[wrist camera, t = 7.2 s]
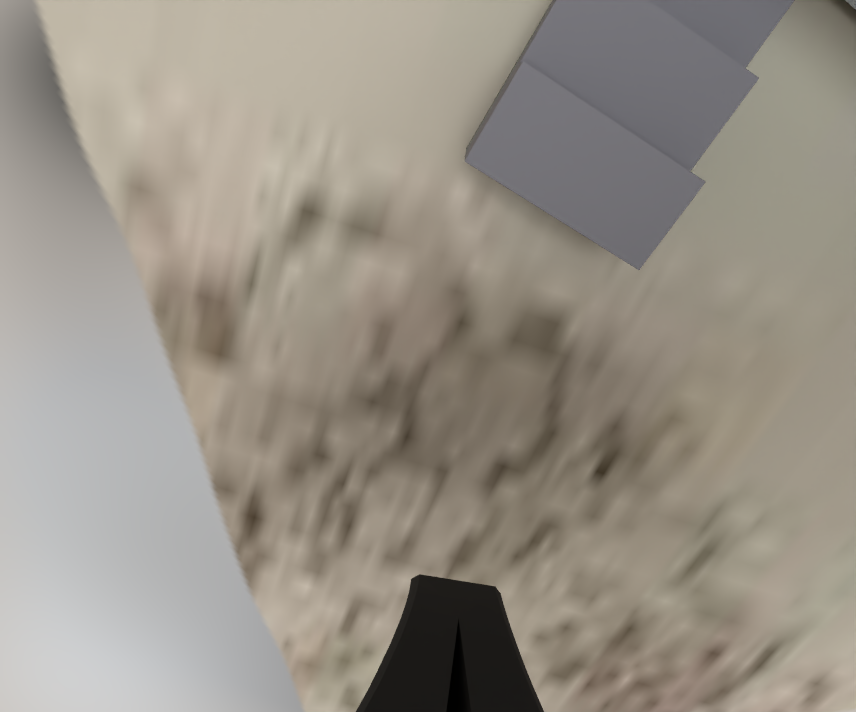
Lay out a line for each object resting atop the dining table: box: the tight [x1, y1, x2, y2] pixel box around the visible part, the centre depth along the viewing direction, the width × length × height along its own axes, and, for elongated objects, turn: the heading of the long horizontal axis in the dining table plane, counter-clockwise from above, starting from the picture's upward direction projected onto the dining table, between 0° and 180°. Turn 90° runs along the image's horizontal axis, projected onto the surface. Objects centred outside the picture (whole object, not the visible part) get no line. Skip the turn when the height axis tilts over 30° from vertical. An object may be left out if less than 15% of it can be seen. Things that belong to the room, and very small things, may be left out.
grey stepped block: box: [465, 0, 794, 270], centre depth 14 cm, size 4×7×4 cm, turn 150°
